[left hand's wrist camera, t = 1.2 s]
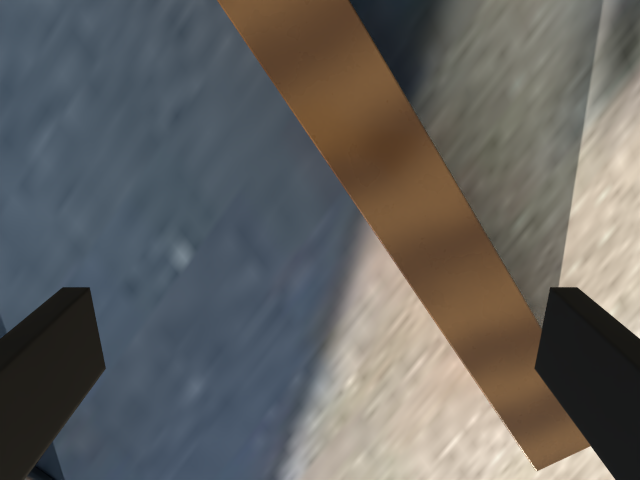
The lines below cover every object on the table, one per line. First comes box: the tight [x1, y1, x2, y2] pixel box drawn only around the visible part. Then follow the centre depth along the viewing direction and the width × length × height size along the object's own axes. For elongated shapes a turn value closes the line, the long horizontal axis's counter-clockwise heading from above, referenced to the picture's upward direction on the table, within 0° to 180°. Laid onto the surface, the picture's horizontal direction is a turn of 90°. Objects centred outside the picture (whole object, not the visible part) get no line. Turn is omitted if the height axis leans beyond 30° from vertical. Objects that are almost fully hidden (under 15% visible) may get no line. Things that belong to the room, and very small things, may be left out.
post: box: [217, 0, 591, 471], centre depth 27 cm, size 65×5×9 cm, turn 34°
